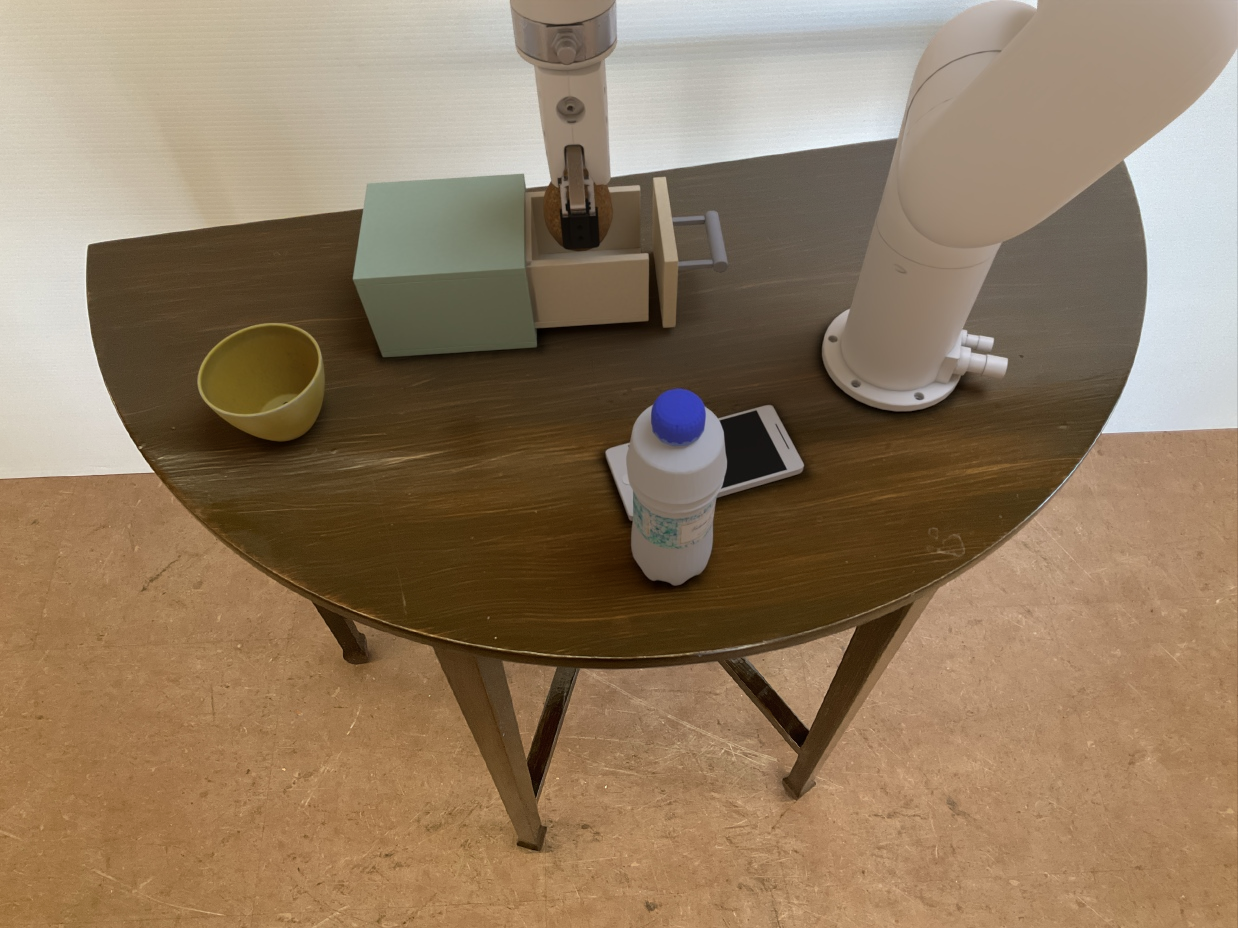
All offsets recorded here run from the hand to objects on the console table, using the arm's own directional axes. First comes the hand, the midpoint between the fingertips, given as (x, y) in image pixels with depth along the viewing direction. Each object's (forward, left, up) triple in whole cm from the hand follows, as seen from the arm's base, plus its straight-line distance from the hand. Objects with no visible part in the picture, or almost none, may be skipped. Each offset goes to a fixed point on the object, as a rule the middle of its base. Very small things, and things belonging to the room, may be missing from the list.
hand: (579, 218), depth 76 cm
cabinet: (+11, +4, -10) cm, 16 cm away
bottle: (-15, +26, -10) cm, 32 cm away
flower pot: (+21, +22, -10) cm, 32 cm away
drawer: (-4, -1, -9) cm, 10 cm away
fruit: (0, 0, -3) cm, 3 cm away
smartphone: (-16, +17, -10) cm, 25 cm away
